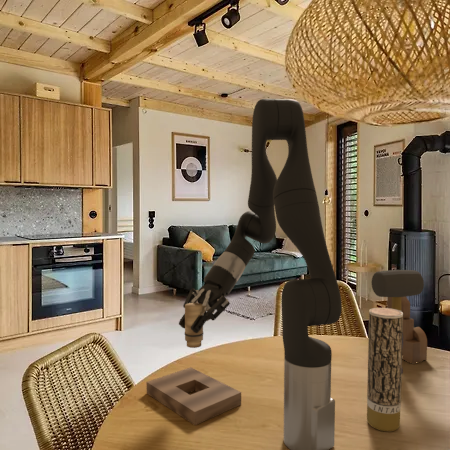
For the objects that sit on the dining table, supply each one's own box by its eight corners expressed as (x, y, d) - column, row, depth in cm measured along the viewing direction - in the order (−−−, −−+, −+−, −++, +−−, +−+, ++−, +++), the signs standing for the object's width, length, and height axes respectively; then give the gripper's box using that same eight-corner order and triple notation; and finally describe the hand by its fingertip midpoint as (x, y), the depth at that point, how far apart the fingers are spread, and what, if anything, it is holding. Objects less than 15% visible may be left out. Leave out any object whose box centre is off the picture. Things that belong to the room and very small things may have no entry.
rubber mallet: (406, 369, 120) (409, 267, 118) (423, 380, 113) (426, 271, 111) (367, 373, 117) (369, 268, 116) (382, 384, 110) (385, 272, 108)
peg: (207, 345, 101) (207, 305, 101) (192, 349, 98) (192, 308, 98) (195, 340, 105) (195, 301, 104) (180, 344, 102) (180, 304, 101)
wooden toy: (428, 361, 127) (430, 280, 125) (412, 364, 124) (414, 281, 122) (389, 345, 141) (390, 272, 139) (374, 347, 138) (375, 273, 136)
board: (241, 404, 99) (241, 392, 99) (194, 425, 90) (194, 411, 90) (190, 377, 114) (190, 367, 114) (146, 393, 105) (146, 381, 104)
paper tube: (361, 417, 93) (364, 307, 92) (390, 416, 94) (393, 307, 92) (374, 433, 87) (377, 316, 85) (406, 432, 87) (409, 315, 86)
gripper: (200, 261, 111) (161, 313, 103) (236, 267, 100) (196, 326, 93) (215, 278, 114) (179, 330, 107) (251, 286, 104) (214, 344, 96)
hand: (187, 328), depth 100 cm, fingers closed on peg, 4 cm apart
